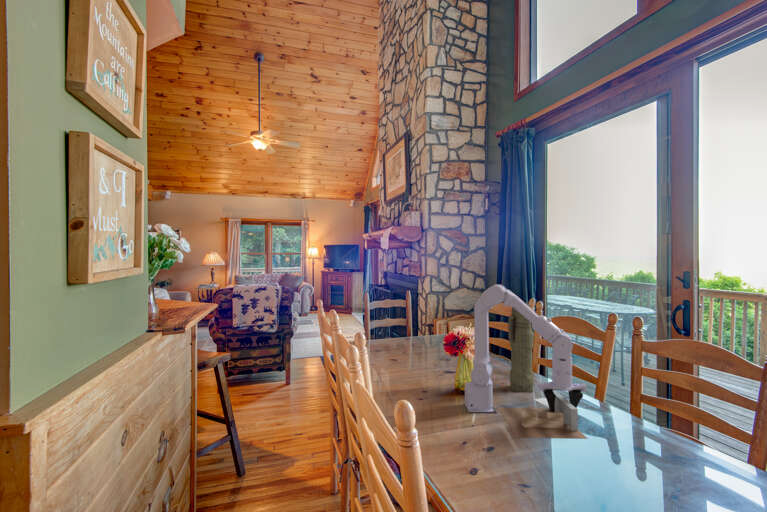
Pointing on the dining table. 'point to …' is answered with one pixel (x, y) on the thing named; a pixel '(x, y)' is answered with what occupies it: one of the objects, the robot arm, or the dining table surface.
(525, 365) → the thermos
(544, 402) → the hard drive
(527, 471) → the dining table surface
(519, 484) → the dining table surface
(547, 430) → the base
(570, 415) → the long gray bar
